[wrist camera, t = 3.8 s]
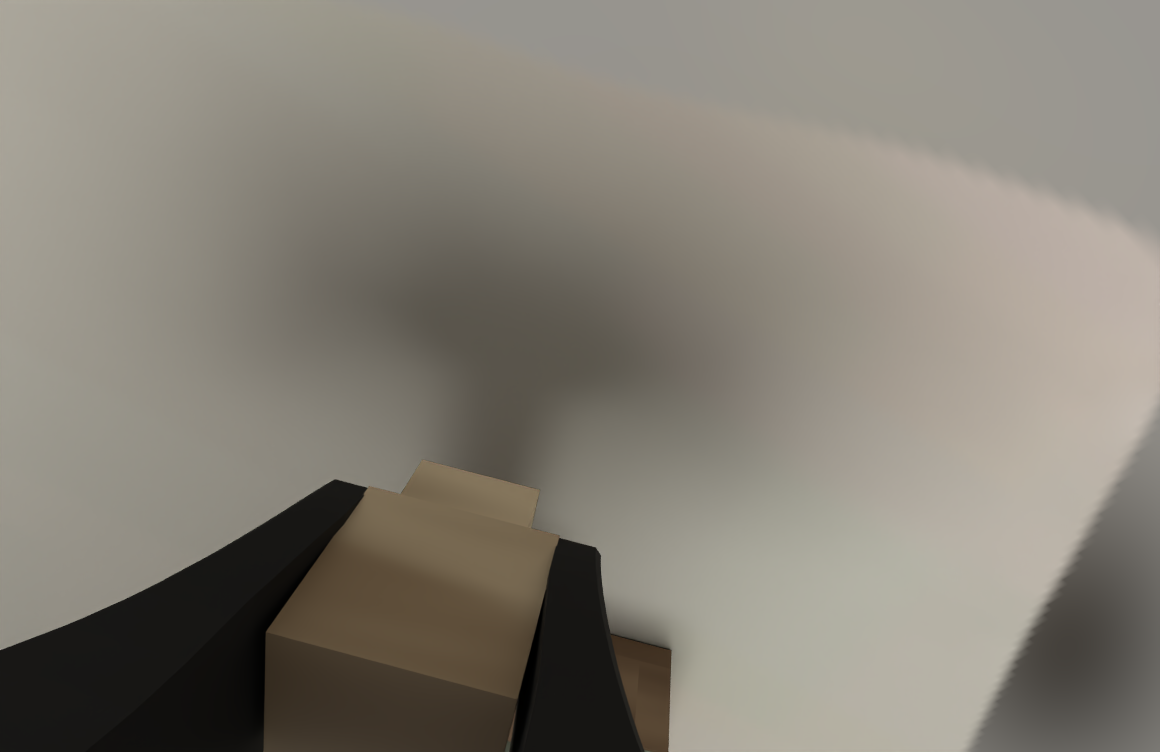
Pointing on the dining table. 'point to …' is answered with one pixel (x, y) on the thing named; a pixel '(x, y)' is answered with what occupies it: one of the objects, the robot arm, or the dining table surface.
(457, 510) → the mallet
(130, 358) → the dining table surface
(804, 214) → the dining table surface
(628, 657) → the toolbox
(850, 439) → the dining table surface
